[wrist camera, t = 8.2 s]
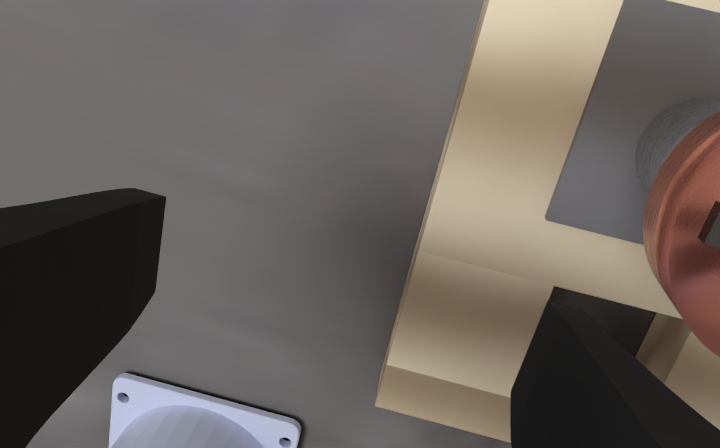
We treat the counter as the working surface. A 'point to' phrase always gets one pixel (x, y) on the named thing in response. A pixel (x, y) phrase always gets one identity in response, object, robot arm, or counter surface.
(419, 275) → the board
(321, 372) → the counter surface
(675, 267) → the peg
